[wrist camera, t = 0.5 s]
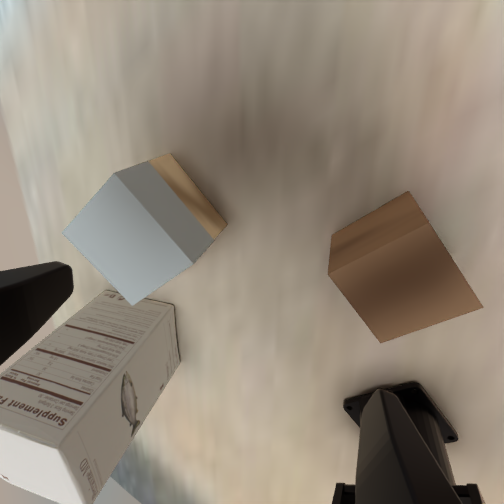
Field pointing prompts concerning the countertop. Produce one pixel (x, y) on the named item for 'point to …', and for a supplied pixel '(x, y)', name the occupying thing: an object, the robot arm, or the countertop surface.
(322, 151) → the countertop surface
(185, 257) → the tower mid
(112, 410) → the supplement box
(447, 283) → the walnut cube
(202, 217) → the tower base
